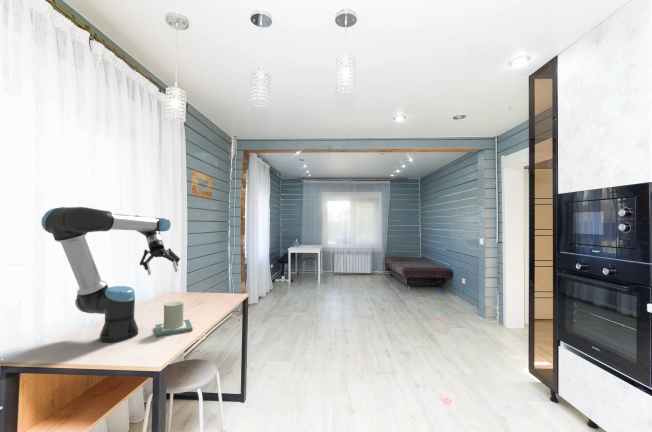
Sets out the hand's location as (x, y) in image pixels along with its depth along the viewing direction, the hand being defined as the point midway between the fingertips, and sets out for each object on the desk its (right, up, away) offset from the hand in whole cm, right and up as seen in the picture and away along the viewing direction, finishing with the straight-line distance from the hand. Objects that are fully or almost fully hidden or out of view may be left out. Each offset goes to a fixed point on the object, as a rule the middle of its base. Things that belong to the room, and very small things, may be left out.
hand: (163, 272), depth 159 cm
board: (+12, -27, -11) cm, 32 cm away
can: (+11, -26, -11) cm, 30 cm away
